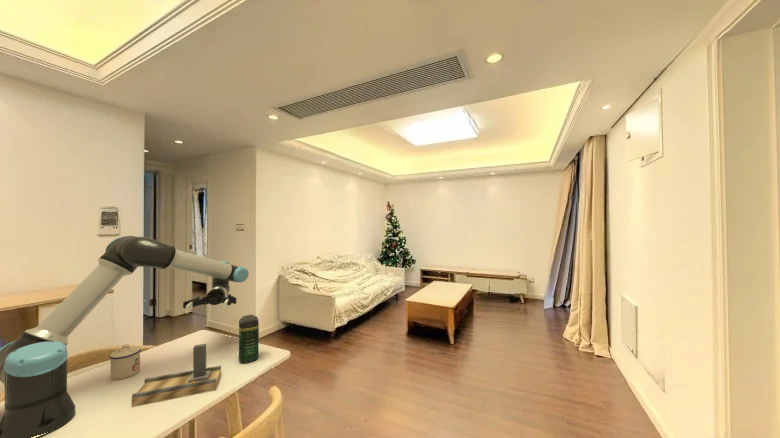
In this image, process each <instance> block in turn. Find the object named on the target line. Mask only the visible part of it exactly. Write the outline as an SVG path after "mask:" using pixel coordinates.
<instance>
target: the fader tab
mask: <svg viewBox="0 0 780 438" xmlns="http://www.w3.org/2000/svg"><path fill="white" fill-rule="evenodd" d="M192 350H193V351H192V352H193V353H192V355H193V359H192V360H193V361H192V362H193V363H192V366H193V368H192V370H193V373H192V375H191V377H190V379H189V380H188V383H192V381H195V382H197V381H203V380H208V378H209V376H210V373H211V370H209V371H206V368H207V343H202V344H195V345H194V346H193V349H192Z"/></svg>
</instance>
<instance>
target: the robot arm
mask: <svg viewBox="0 0 780 438" xmlns="http://www.w3.org/2000/svg"><path fill="white" fill-rule="evenodd" d="M139 267H140V268H141V267H142V268H156V269H161V270H167V269H168V268H169V269H173V270H178V271H182V272H183V271H184V272H187V273H192V274H196V275H202V276H206V277H210V278H211V280H212V281H211V282H212V283H211V289H210V290H209V291H208V292H207V294H206V295H205V296H203V297H201V296H199V295H198V296H197V297H194V298H192V299H189V300H185V301H183V302H182V305H183V306H182V308H183V309H185V313H186V314H187V313H189V312H190V311H191V310H192V309H193V308H195V307H198V306H202V305H204V306H205V305H211V306H218V305H220V304H223V310H227V308H228V306H231V305H232V304H235V305H236V304H237V297H235V296H234V295H232V294H231V293H230V291H231V288H230V282H233V283H244V282H245V281H246V280H247V279H248V278H249V270H248V269H247V268H246V267H244V266H237V265H234V264H230V262H229V261H228V260H216V259H212V258H208V257H205V256H201V255H197V254H194V253H189V252H186V251H182V250H179V249H177V247H176V246H175V245H170V244H167V243H163V242H161V241H158V240H156V239H154V238H151V237H146V236H137V235H136V236H133V235H125V236H120V237H117V238H115V239H113V240H112V241H110V242H109V243H108V244H107V246H106V247H105V252H104V253H103V254H102V255H101V256H100V257H99V258H98V266H96V267H95V268H94V269H93V271H91V273H89V274H88V275H87V276H86V278H84V279H83V280H82V281H81V282H80V283H79V284H78V285H77V286H76V287H75V288H74V289H73V290H72V291H71V292H70V293H69V294H68V295H67V296H66V297H65V299H63V300H62V301H61V302H60V303H59V304H58V305H57V306H56V307H55V308H54V309H53V310H52V311H51V312H50V313H49V314H48V315H47V316H46V317H45V318H44V320H42V321H41V322H40V323H39V324H38V325H37V326H36V327H34V328H29V329H26V330H25V331H24V332H23V333H22V334H20V336H19V337H17V339H16V340H13V341H10V342H9V343H7V344H6V345H4V346H3V347H1V348H0V382H1V383H2V384H3V386H4V412H3V414H2V416H1V418H0V438H31V437H34V436H37V435H41V434H44V433H47V432H50V431H52V430H54V429H56V428H58V427H59V428H61V427H63V426H64V425H66V424H67V423H68V422H70V421H71V420H72V419H73V418H74V417H75V415H76V405H75V403H74V401H73V399H72V397H71V396H70V394H69V392H68V356H69V354H68V353H69V352H68V349H67V346H68V344H69V340H68V339H69V338H68V337H69V336H70V335H71V334H72V333H73V332H74V331H75V329H77V328H78V326H80V324H81V323H82V322H83V321H84V320H85V319H86V317H87V316H88V315H90V313H92V311H93V310H94V309H95V308H96V307H97V306H98V305H99V303H100V302H101V301H102V300H104V298H105V297H106V296H107V295H108V294H109V292H110V291H112V289H113V288H115V286H116V285H117V284H118V283H119V282H120V281H121V280H122V279H123V278H124V277H125V276H130V275H132V274H133V273H134V272H135V271H136V270H137V268H139ZM62 425H63V426H62ZM60 426H61V427H60ZM59 428H58V429H59ZM56 430H57V429H56ZM54 431H55V430H54ZM52 432H53V431H52ZM50 433H51V432H50Z"/></svg>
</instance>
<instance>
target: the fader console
mask: <svg viewBox="0 0 780 438" xmlns="http://www.w3.org/2000/svg"><path fill="white" fill-rule="evenodd" d="M209 370H211V373H210V376H209V378H208V380H203V381H197V382H195V381H192V383H188V380H189V379H190V377H191V375H192V373H193V369H192V370H187V371H182V372H181V371H180V372H175V373H169V374H164V375H158V376H152V377H151V376H150V377H146V378H145V379H144V383H143V384H142V386H141V387H140V388H139V389H138V390H137V392H134V393H132V395H131V407H136V406H143V405H147V404H151V403H156V402H162V401H166V400H172V399H177V398H182V397H187V396H192V395H196V394H203V393H207V392H211V391H212V392H213V391H216V390H217V387H218V385H219V381H220V379H221V376H222V365H216V366H210V367H206V371H209Z"/></svg>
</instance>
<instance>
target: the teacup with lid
mask: <svg viewBox="0 0 780 438" xmlns="http://www.w3.org/2000/svg"><path fill="white" fill-rule="evenodd" d="M141 350H142V348H140V346H132V345H130V344H129V343H128V344H123V345H122V347H120V348H119V349H117V350H115V351H113V352H111V354H110V355H109V359H110V362H109V363H110V366H109V367H110V379H111V380H115V381H116V380H124V379H127V378H130V377H132V376H135V375H136V374H138V373H139V372H140V370H141Z"/></svg>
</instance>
